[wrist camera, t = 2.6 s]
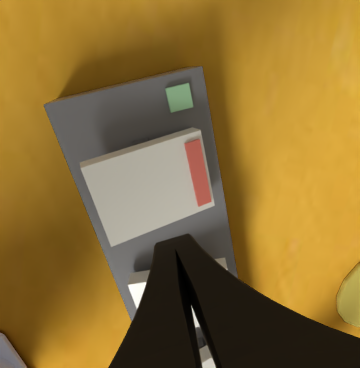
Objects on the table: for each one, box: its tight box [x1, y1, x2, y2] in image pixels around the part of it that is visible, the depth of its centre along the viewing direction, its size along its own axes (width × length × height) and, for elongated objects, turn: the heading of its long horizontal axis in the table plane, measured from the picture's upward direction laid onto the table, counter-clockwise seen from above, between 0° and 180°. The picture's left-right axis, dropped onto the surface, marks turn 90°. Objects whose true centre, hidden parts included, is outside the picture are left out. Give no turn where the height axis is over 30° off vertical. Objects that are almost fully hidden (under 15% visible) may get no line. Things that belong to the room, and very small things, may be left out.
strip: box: [44, 66, 238, 349], centre depth 20 cm, size 8×26×4 cm, turn 12°
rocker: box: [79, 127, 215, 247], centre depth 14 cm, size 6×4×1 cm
